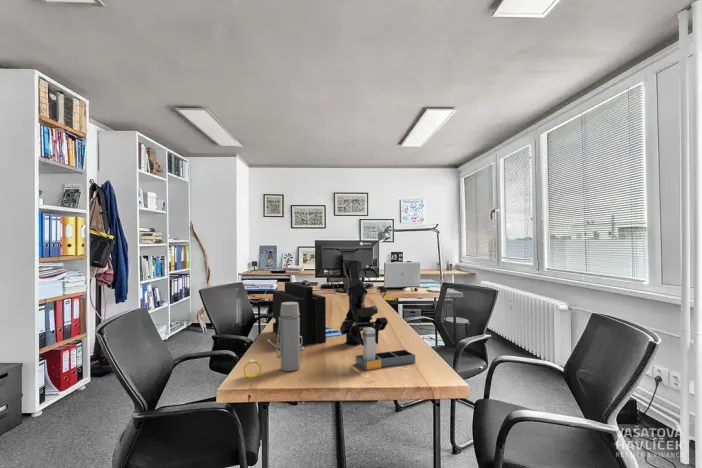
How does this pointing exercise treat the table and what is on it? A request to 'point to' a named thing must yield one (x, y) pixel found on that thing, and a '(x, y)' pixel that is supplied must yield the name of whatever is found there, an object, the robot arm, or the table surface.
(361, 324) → the robot arm
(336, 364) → the table surface
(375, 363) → the rack
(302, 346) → the wall mount rack
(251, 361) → the yellow ring
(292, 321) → the water bottle
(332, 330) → the game console
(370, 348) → the white capped pillar
